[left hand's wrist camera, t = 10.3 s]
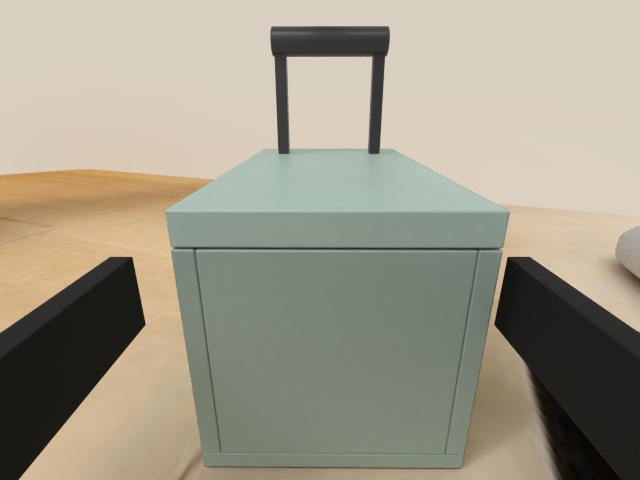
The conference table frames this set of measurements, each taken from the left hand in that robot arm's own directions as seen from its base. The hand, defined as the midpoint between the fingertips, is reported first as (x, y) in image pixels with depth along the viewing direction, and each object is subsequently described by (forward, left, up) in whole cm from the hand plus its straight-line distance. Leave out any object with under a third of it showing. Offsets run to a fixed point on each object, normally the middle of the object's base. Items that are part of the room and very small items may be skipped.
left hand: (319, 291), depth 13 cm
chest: (+6, -4, -7) cm, 10 cm away
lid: (+6, -5, +2) cm, 8 cm away
